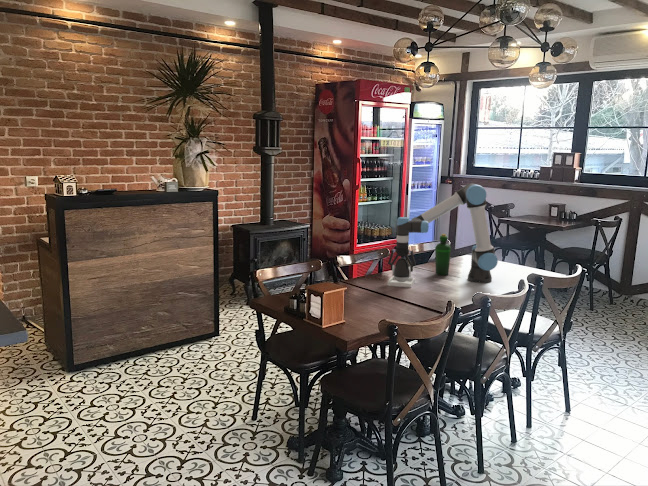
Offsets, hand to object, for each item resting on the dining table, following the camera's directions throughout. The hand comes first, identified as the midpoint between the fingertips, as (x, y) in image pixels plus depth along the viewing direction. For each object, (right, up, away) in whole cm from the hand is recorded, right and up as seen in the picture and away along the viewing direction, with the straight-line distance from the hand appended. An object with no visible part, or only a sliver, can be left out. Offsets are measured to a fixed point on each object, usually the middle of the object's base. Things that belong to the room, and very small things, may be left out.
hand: (401, 275), depth 334 cm
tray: (0, -5, +1) cm, 5 cm away
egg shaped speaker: (0, -3, +1) cm, 3 cm away
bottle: (+32, -1, +26) cm, 41 cm away
